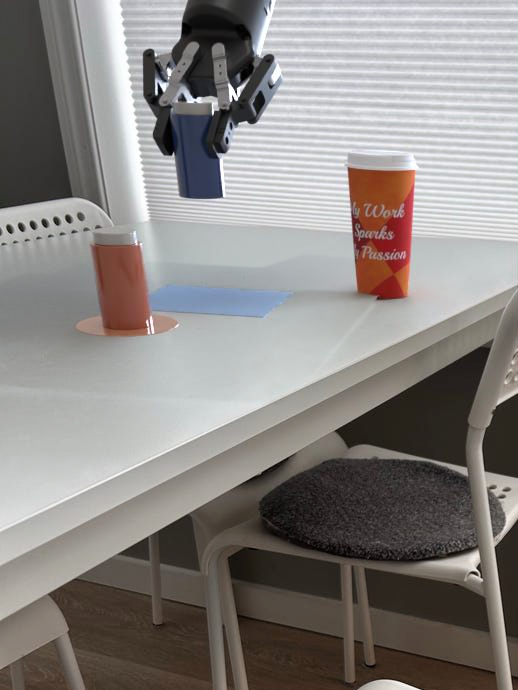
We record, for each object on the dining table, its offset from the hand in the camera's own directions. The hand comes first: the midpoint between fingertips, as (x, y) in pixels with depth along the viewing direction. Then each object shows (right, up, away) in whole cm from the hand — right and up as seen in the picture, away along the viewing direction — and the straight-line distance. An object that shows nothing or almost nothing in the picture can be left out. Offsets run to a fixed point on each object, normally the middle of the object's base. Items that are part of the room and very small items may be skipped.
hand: (188, 150), depth 88 cm
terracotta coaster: (-5, -17, -1) cm, 18 cm away
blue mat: (0, -11, +9) cm, 14 cm away
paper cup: (+16, -7, +17) cm, 25 cm away
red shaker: (-5, -17, -1) cm, 18 cm away
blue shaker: (0, -3, +4) cm, 4 cm away
